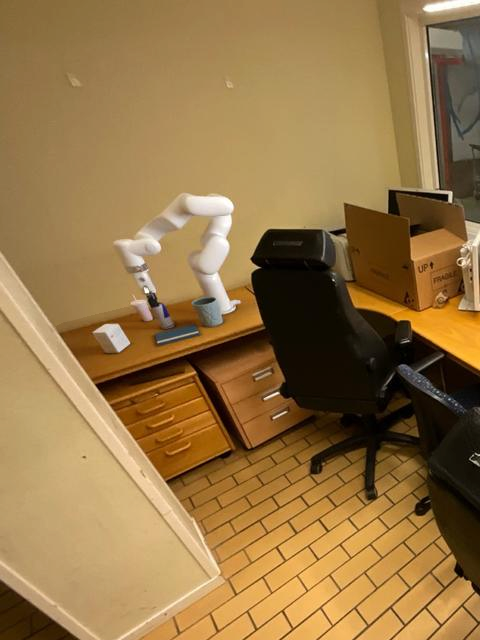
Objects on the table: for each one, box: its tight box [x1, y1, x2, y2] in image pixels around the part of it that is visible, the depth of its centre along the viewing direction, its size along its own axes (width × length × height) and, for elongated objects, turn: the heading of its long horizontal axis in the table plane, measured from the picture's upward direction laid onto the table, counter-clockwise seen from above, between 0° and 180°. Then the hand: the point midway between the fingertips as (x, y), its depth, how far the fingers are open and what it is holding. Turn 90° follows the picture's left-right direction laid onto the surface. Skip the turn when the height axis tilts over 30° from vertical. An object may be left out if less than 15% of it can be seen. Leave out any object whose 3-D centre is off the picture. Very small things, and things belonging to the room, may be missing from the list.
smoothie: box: [130, 293, 154, 322], centre depth 193 cm, size 6×6×14 cm
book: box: [154, 323, 201, 347], centre depth 185 cm, size 16×12×1 cm
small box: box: [91, 323, 131, 354], centre depth 172 cm, size 8×6×10 cm
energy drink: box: [149, 301, 176, 330], centre depth 188 cm, size 5×5×12 cm
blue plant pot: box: [191, 296, 224, 328], centre depth 192 cm, size 10×10×12 cm
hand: (154, 303), depth 184 cm, fingers open, 9 cm apart
